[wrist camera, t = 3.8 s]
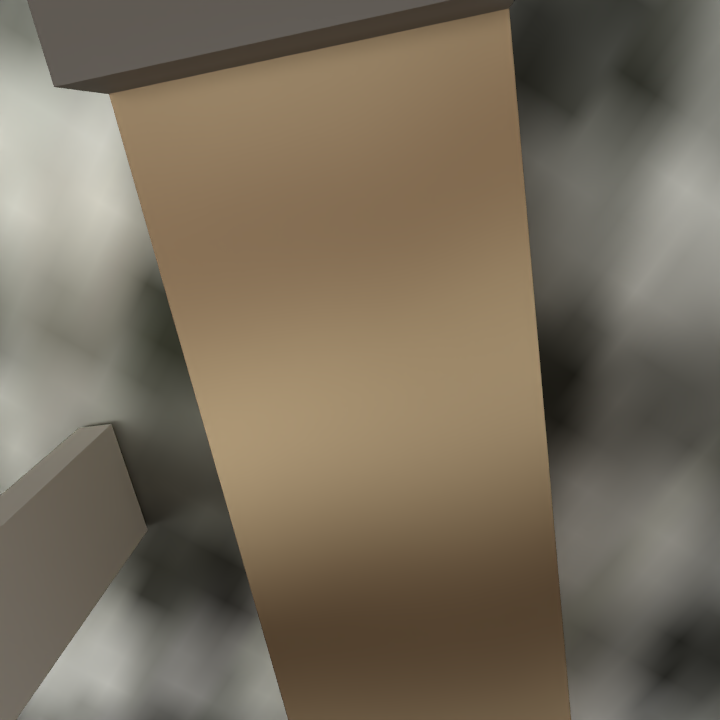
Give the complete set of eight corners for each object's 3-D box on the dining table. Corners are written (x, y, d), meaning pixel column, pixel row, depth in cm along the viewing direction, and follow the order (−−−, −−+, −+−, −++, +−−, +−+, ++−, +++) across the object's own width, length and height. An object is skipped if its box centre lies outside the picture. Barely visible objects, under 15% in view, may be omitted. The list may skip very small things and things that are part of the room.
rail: (541, 725, 15) (611, 1071, 10) (381, 732, 16) (359, 1064, 10) (462, -1, 10) (514, -175, 4) (228, 49, 11) (12, -47, 5)
